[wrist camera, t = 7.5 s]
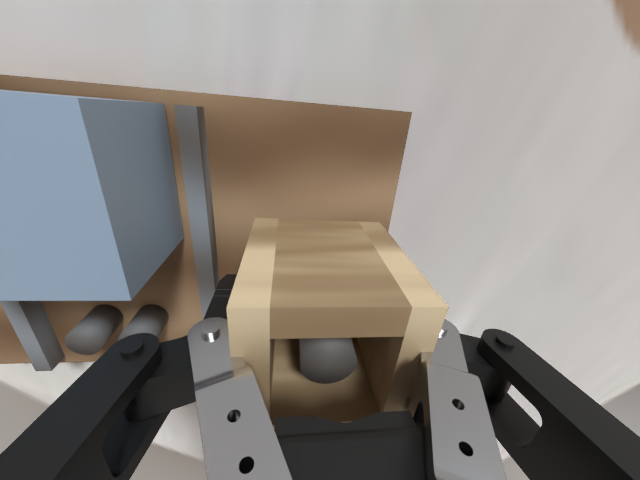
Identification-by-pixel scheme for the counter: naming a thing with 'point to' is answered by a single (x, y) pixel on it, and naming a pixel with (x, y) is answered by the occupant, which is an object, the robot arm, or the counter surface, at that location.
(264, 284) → the collar
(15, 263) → the block
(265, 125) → the jig board
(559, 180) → the counter surface
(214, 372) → the robot arm
